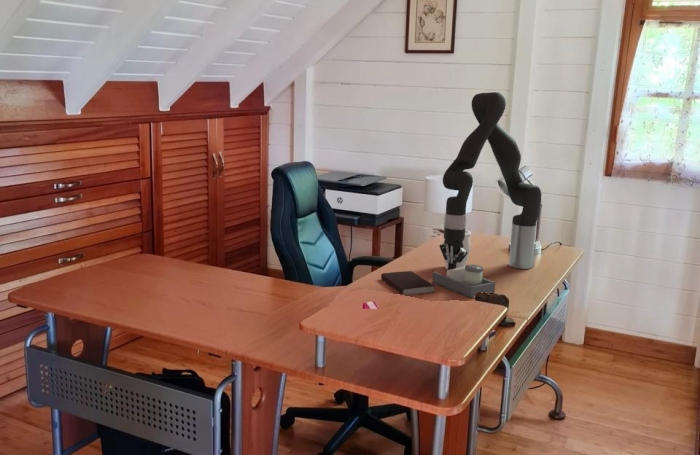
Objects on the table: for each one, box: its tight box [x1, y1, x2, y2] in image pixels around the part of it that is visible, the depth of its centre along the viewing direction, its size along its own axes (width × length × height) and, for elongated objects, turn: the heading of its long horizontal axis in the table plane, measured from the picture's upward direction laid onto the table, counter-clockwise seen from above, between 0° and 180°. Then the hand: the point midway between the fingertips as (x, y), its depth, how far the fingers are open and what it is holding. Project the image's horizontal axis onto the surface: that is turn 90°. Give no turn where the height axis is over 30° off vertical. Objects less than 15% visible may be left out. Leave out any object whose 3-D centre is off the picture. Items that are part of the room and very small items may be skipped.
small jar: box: [464, 264, 484, 286], centre depth 236 cm, size 6×6×8 cm
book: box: [380, 270, 436, 296], centre depth 242 cm, size 12×19×3 cm, turn 20°
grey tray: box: [431, 271, 496, 299], centre depth 241 cm, size 11×20×4 cm, turn 34°
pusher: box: [446, 267, 465, 282], centre depth 243 cm, size 8×2×5 cm, turn 124°
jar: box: [443, 229, 472, 270], centre depth 264 cm, size 11×10×15 cm
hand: (451, 272), depth 245 cm, fingers closed
